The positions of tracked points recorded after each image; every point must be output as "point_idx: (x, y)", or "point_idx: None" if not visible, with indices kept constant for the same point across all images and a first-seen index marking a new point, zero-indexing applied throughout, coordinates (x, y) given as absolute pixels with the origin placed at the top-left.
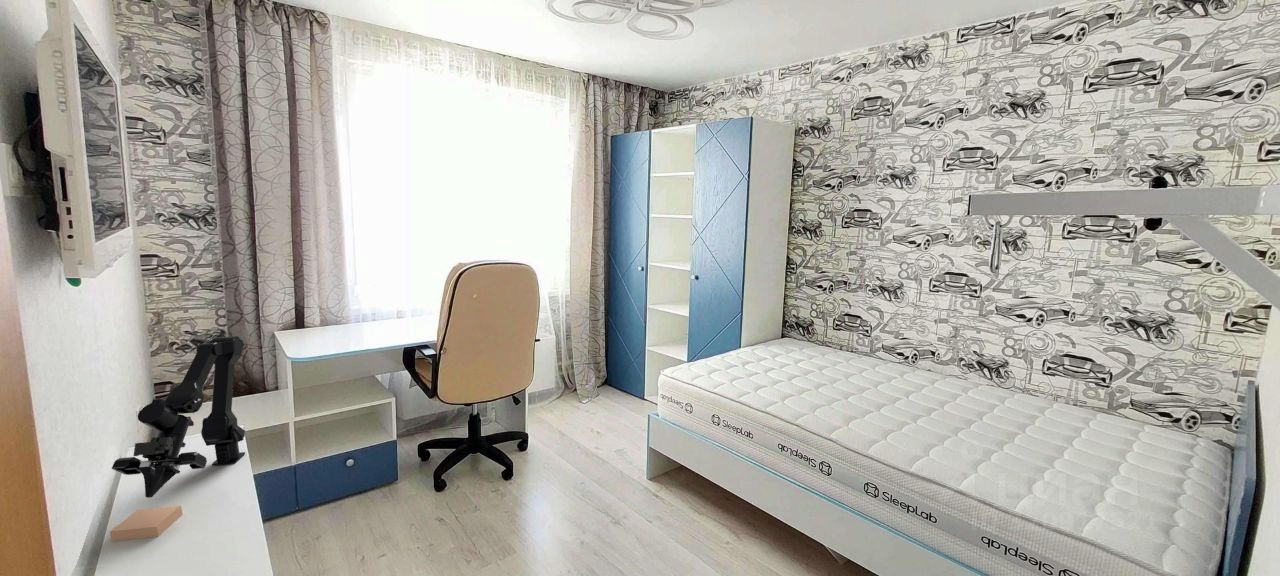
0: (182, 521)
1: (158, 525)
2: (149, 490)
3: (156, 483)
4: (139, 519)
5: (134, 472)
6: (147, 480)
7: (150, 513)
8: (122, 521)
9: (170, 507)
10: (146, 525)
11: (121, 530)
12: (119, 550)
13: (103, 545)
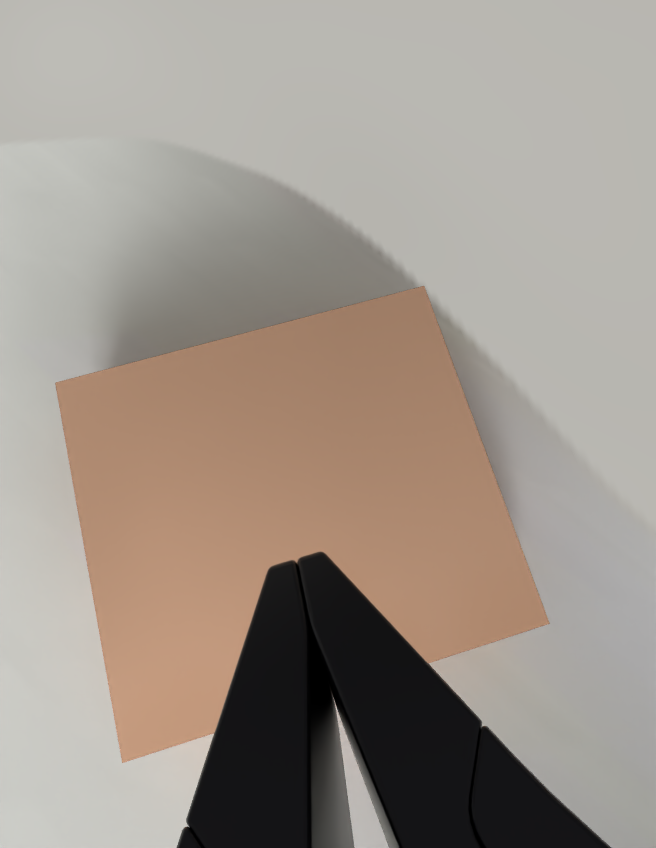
0: (77, 624)
1: (59, 404)
2: (292, 626)
3: (199, 804)
4: (339, 468)
5: None
6: (469, 824)
7: None
8: (475, 425)
9: (212, 707)
10: (170, 388)
11: (336, 310)
12: (245, 254)
13: None
